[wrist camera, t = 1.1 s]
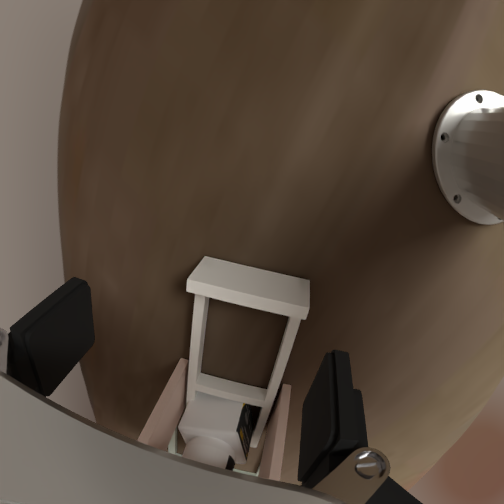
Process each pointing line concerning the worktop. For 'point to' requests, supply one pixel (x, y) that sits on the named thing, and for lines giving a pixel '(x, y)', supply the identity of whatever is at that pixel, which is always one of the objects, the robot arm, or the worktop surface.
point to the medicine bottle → (217, 431)
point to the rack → (254, 296)
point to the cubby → (174, 403)
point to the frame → (173, 449)
